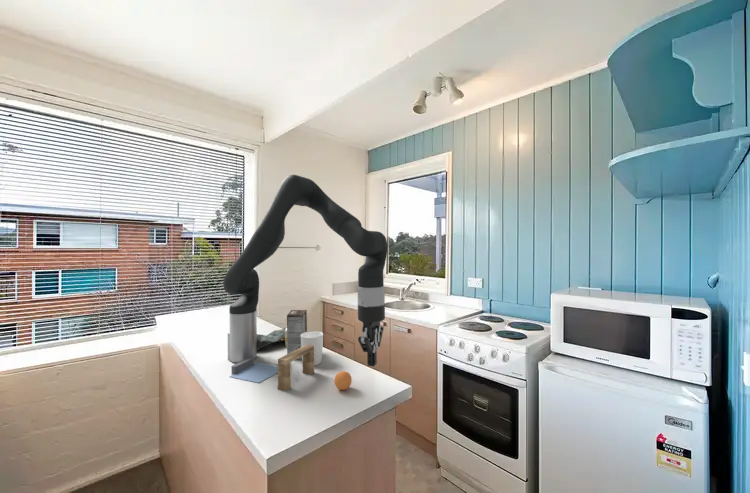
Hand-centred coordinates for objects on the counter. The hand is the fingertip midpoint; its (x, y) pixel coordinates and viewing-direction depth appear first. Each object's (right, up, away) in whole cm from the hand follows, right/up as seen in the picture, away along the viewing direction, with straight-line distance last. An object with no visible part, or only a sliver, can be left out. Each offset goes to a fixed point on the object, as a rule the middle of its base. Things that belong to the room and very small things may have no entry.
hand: (372, 365), depth 84 cm
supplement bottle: (-34, -9, +42) cm, 54 cm away
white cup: (-22, -9, +24) cm, 33 cm away
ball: (-8, -6, +4) cm, 11 cm away
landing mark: (-38, -9, +15) cm, 41 cm away
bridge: (-23, -8, +10) cm, 26 cm away
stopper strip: (-44, -9, +18) cm, 48 cm away
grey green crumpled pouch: (-41, -9, +46) cm, 62 cm away
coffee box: (-29, -9, +32) cm, 44 cm away
